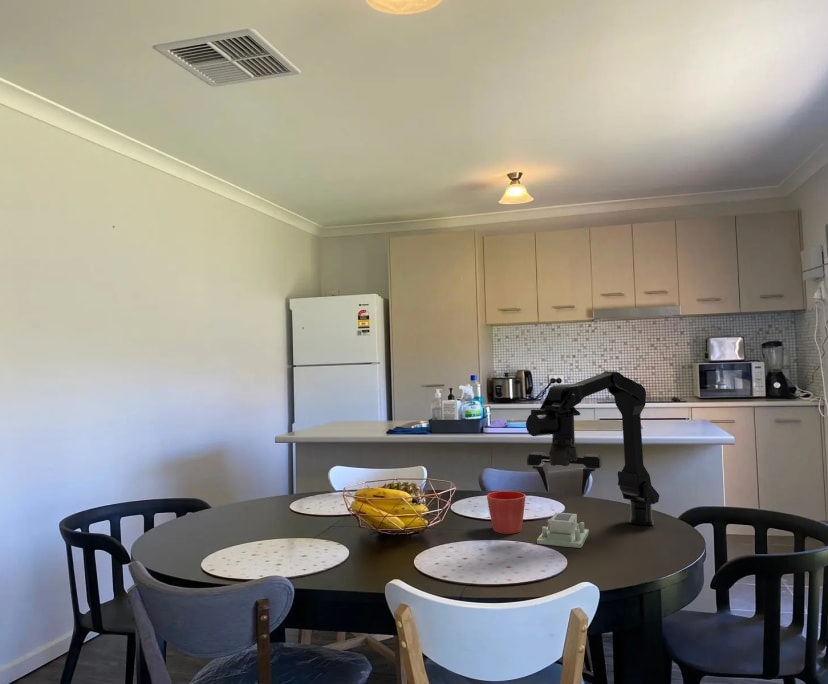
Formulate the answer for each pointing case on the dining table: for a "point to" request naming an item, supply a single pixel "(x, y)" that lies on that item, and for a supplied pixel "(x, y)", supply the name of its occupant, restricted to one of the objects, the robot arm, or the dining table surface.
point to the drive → (563, 524)
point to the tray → (564, 537)
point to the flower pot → (506, 511)
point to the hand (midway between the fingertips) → (565, 492)
